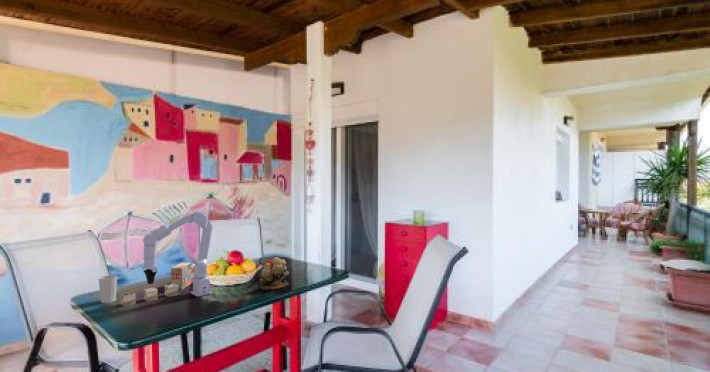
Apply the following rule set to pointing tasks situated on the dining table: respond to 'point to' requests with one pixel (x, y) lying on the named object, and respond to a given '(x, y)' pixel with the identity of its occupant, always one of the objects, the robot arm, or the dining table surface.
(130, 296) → the dotted block
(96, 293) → the dining table surface
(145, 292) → the plain block
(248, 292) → the dining table surface
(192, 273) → the stack of blocks
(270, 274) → the brown lumpy figurine
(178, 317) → the dining table surface
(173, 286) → the dotted block
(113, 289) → the cup
